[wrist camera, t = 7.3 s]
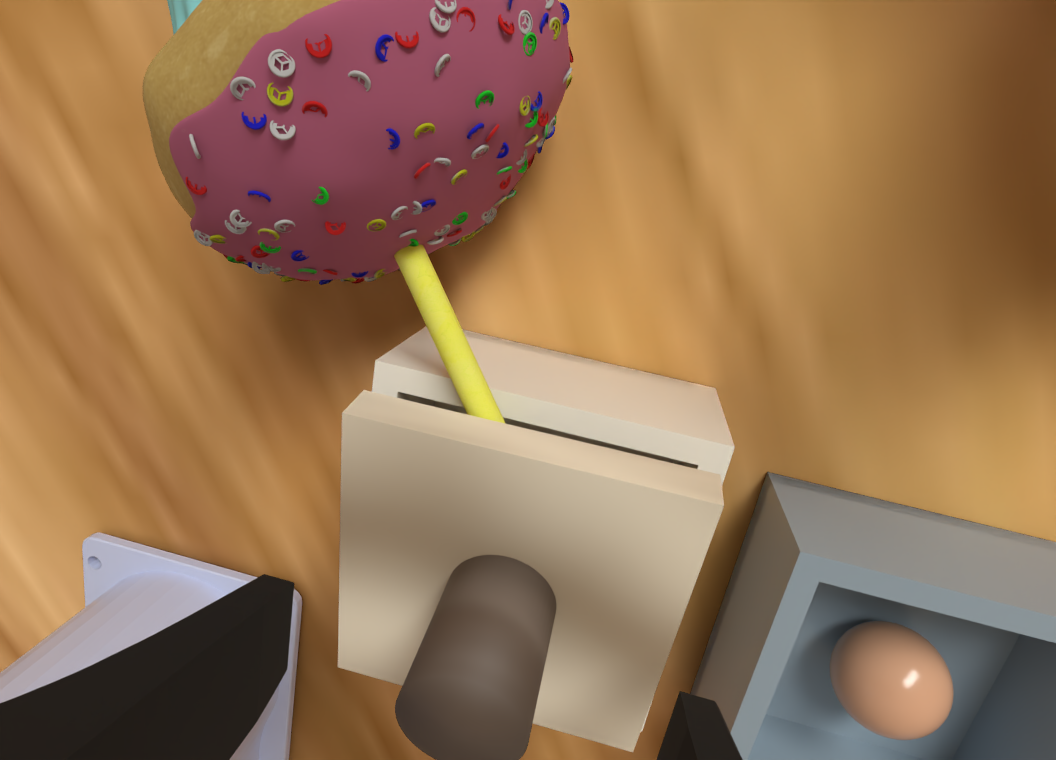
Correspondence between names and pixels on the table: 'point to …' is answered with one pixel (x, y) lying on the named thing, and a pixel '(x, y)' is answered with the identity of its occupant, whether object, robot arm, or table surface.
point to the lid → (511, 575)
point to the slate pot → (881, 595)
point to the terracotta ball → (891, 680)
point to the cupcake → (356, 135)
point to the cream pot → (571, 399)
